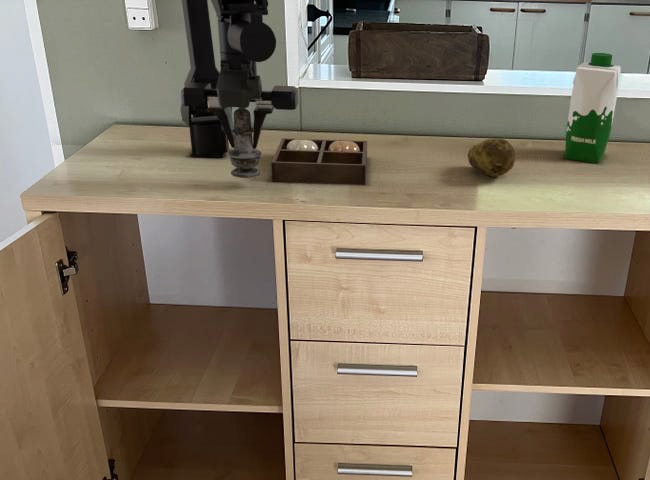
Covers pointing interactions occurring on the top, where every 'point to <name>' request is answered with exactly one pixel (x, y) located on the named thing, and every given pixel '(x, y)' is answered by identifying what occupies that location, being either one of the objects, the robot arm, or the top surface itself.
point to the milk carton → (592, 108)
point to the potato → (492, 157)
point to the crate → (319, 164)
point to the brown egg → (344, 146)
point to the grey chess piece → (244, 147)
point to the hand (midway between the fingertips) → (244, 147)
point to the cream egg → (302, 145)
